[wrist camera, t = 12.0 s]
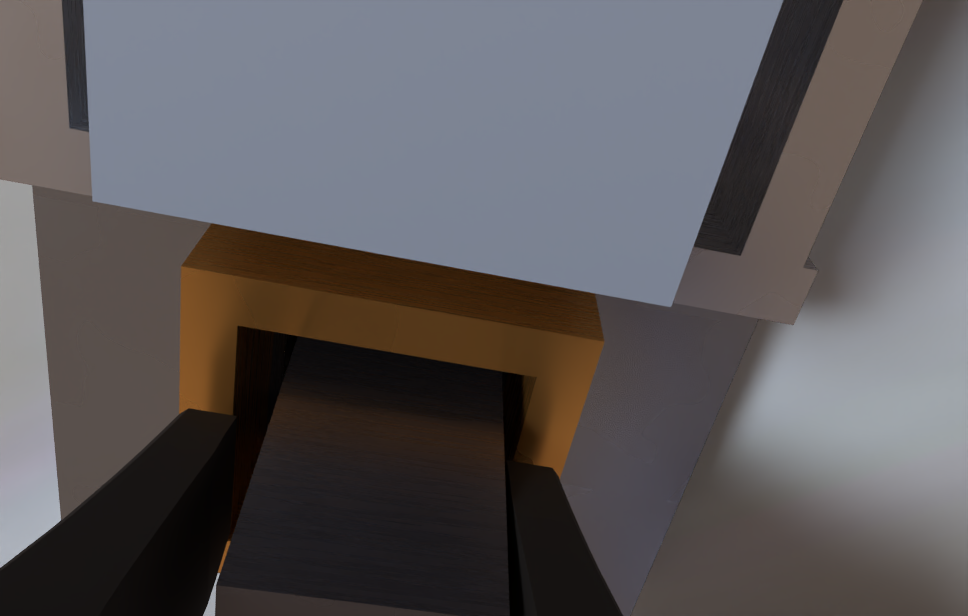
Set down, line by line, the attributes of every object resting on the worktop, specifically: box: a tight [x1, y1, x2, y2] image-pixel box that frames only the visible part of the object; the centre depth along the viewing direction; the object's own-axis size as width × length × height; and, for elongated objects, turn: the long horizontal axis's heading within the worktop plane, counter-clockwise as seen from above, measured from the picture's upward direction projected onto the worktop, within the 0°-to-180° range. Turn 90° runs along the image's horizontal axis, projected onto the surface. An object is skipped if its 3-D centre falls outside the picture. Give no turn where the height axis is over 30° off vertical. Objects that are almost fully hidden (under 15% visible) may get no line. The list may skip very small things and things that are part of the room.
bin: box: [0, 0, 923, 616], centre depth 11 cm, size 17×11×4 cm, turn 169°
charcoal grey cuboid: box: [215, 336, 510, 616], centre depth 12 cm, size 3×3×7 cm
